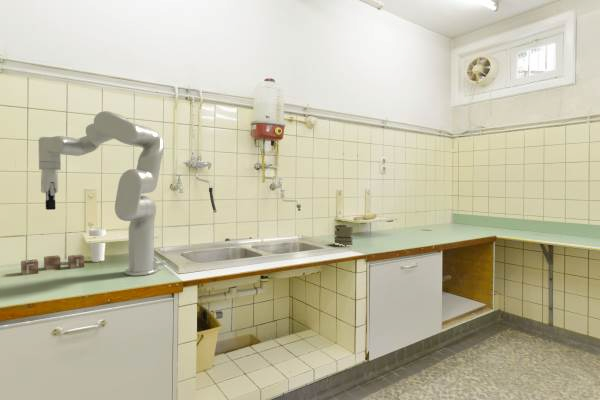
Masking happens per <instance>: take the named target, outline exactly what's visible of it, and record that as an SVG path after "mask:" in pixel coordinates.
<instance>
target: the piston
mask: <svg viewBox="0 0 600 400" xmlns="http://www.w3.org/2000/svg"><path fill="white" fill-rule="evenodd" d="M353 229H354V227H353V225H352V226H347V225H346V224H335V225H334V237H333V238H334V241H333V242H335V243H339V244H343V245H352V246H353V235H354V234H353V233H354V232H353V231H354V230H353Z"/></svg>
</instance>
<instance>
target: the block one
mask: <svg viewBox="0 0 600 400" xmlns="http://www.w3.org/2000/svg"><path fill="white" fill-rule="evenodd" d="M67 261H68V262H67V263H68V264H67V267H68V268H69V269H70V270H75V269H82V268H85V255H83V254H72V255H68V256H67Z"/></svg>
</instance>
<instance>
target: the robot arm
mask: <svg viewBox="0 0 600 400" xmlns="http://www.w3.org/2000/svg"><path fill="white" fill-rule="evenodd" d="M112 140H116V141H118V142H120V143H123V144H125V145H128V146H134V147H140V148H142V149H143V150H142V151H141V153H140V154H139V156H138V160H137V165H136V168H132V169H128V170H126V171H124V172H123V173H122V175H121V176H120V178H119V180H118V185H117V191H116V197H115V202H114V213H115V216H116V217H117V218H118V219H119V220H120V221H124V222H129V226H128V268H126V269H125V270H124V274H125V275H126V276H131V277H132V276H134V277H135V276H139V277H140V276H145V275H151V274H155V273H157V272H159V271H158V270H159V268H158V267H159V266H165V265H166V264H167V262H166V260H156V259H155V253H154V252H155V240H154V239H155V237H154V236H155V220H156V215H157V214H156V213H157V205H156V202H155V201H154V199H153V198H151V197H149V196H148V195H147V196H146V195H142V194H150V193H152V192H154V191H155V190H156V188H157V186H158V182H159V181H158V180H159V176H160V170H161V164H162V158H163V155H164V150H165V149H164V148H165V144H164V139H163V138H162V136H161V134H159V133H158V132H157V131H156V130H155V129H153V128H150V127H147V126H144V125H140V124H137V123H133V122H131V121H129V120H128V119H127V118H126V117H125V116H123V115H121V114H118V113H115V112H112V111H107V110H104V111H103V110H102V111H100V112H98V113H97V114H96V115H95V116H94V118H93V123H90V124H88V125H87V126H86V127H85V136H82V137H80V138H75V137H74V138H73V137H69V136H63V135H56V136H41V137H39V138H38V140H37V141H38V170H40V171H41V172H40V173H41V174H40V177H41V178H40V192H41V193H42V194H45V210H56V194H57V193H58V192H59V174H58V173H59V171H61V170H62V169H61V155H64V156H75V157H79V156H84V155H87V154H89V153H92V152H94V151H96V150H97V149H98V148H99V147H100V146H101V144H104V143H106V142H109V141H112Z"/></svg>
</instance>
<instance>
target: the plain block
mask: <svg viewBox="0 0 600 400" xmlns="http://www.w3.org/2000/svg"><path fill="white" fill-rule="evenodd" d="M43 269H44V270H45V271H51V270H57V269H58V270H59V269H61V256H60V255H47V256H44V257H43Z"/></svg>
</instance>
